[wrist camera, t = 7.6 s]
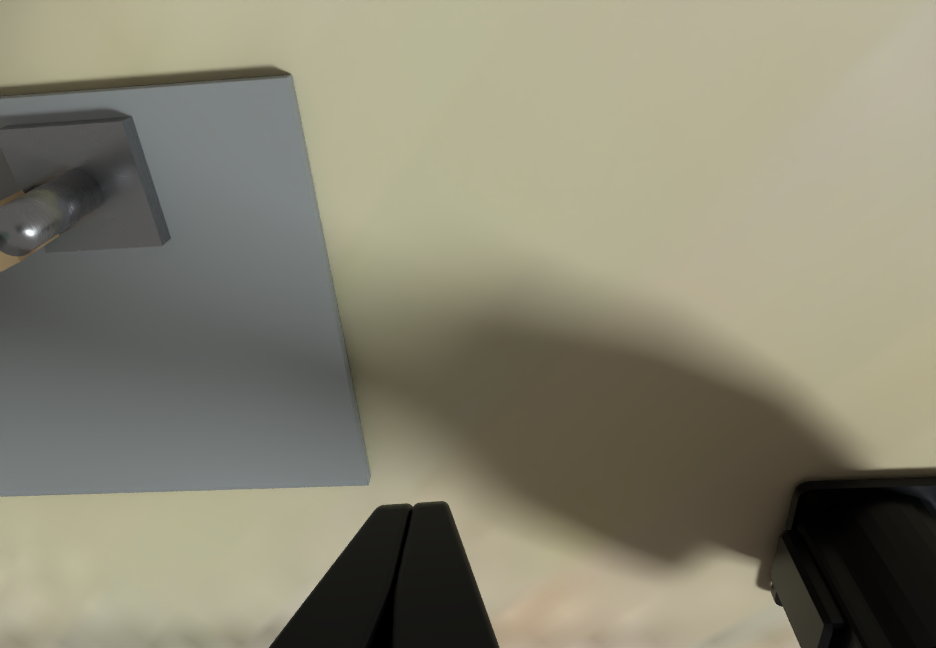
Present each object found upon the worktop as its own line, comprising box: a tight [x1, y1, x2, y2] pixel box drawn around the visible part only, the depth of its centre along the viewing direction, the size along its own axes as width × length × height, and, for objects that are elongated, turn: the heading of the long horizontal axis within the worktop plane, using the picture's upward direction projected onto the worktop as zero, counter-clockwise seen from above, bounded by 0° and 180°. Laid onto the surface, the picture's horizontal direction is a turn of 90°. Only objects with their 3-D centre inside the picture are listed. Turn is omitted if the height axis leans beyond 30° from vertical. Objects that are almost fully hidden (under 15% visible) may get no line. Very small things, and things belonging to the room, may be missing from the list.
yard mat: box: [0, 75, 371, 497], centre depth 22 cm, size 14×14×1 cm
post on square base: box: [0, 116, 171, 256], centre depth 17 cm, size 4×4×4 cm
